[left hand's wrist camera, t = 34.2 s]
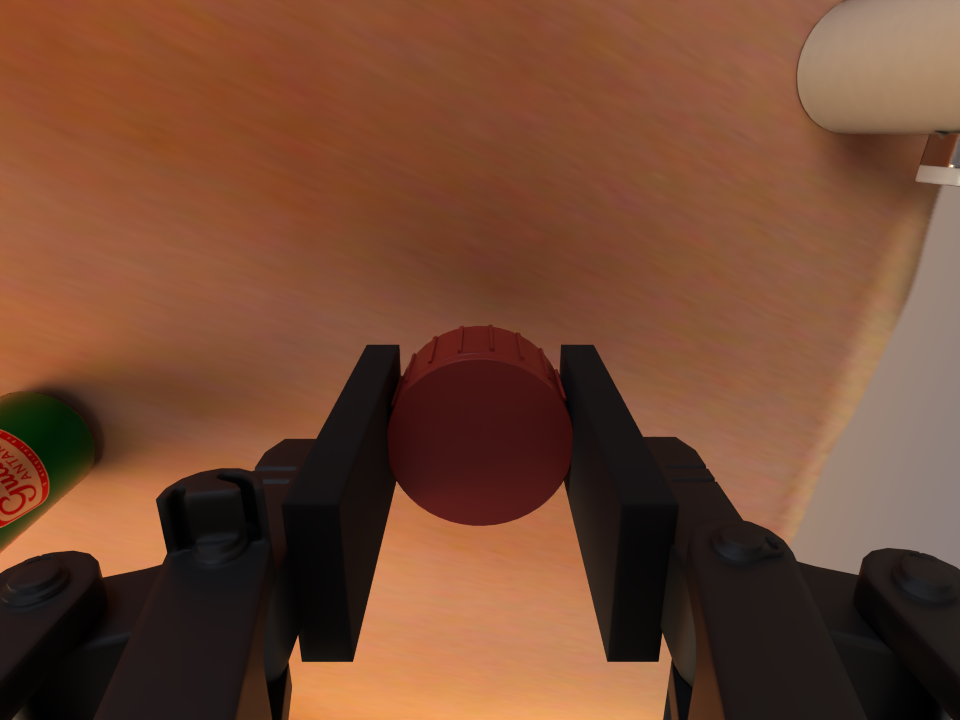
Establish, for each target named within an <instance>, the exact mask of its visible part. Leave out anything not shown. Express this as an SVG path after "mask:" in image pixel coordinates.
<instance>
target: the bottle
mask: <svg viewBox="0 0 960 720" xmlns="http://www.w3.org/2000/svg"><path fill="white" fill-rule="evenodd" d="M797 87H798V92H799V97H800V100H801V103H802V105H803V107H804V109H805V111H806V112H807V113H808V115H809V116H810V117H811V118H812V119H813V120H814V121H815V123H817V124H818V125H820V126H821V127H823V128H825V129H826V130H828V131H831V132H835V133H839V134H864V135H930V133H932V132H940V133H960V0H844V1H843V2H841V3H839V4H838V5H836V6H835V7H834V8H832V9H831V10H830V11H829V12H828V13H827V14H826V15H824V16H823V18H822V19H821V20H820V21H819V22H818V23H817V24H816V26H815V27H814V29H813V30H812V32H811V33H810V35H809V37H808V39H807V40H806V42H805V45H804V47H803V50H802V52H801V56H800V59H799V64H798V70H797Z"/></svg>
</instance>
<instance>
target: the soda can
mask: <svg viewBox="0 0 960 720" xmlns="http://www.w3.org/2000/svg"><path fill="white" fill-rule="evenodd" d="M94 460H95V444H94V440H93V436H92V433H91V431H90V429H89V427H88V425H87V424H86V422H85V420H84V419H83V418H82V417H81V416H80V414H78V413H77V412H76V411H75V410H74V409H73V408H71V407H70V406H69V405H67V404H66V403H64V402H62V401H60V400H58V399H56V398H53V397H51V396H48V395H44V394H40V393H36V392H14V393H9V394H6V395H3V396H1V397H0V553H1V552H2V551H3V550H4V549H6V548H7V547H8V546H9V545H10V544H11V543H12V542H13V541H15V540H16V539H17V538H18V537H19V536H20V535H21V534H22V533H23V532H25V531H26V530H27V529H28V528H29V527H30V526H31V525H32V524H34V523H35V522H36V521H37V520H38V519H39V518H40V517H41V516H42V515H44V514H45V513H46V512H47V511H48V510H49V509H50V508H51V507H53V506H54V505H55V504H56V503H57V502H58V501H59V500H60V499H61V498H63V497H64V496H65V495H66V494H67V493H68V492H69V491H70V490H72V489H73V488H74V487H75V486H76V485H77V484H78V483H79V482H80V481H82V480H83V479H84V478H85V477H86V476H87V474H88V473H89V472H90V470H91V468H92V466H93V463H94Z"/></svg>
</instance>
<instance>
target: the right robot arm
mask: <svg viewBox="0 0 960 720" xmlns="http://www.w3.org/2000/svg"><path fill="white" fill-rule="evenodd" d="M927 165H928V166H927ZM915 181H916V182H924V183H933V184H941V185H950V186H959V187H960V133H940V132H932V133H930V135H929V138H928V141H927V144H926V147H925V150H924V153H923V156H922V159H921V162H920V167H919V170H918V173H917V176H916V179H915Z"/></svg>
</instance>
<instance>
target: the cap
mask: <svg viewBox="0 0 960 720" xmlns="http://www.w3.org/2000/svg"><path fill="white" fill-rule="evenodd" d="M566 400H567V397H566V394H565V391H564V388H563V385H562V382H561V379H560V376H559V373H558V370H557V369H555V370H554V368H553V366H552V365H551V363H550V361H549V360H548V359H547V357H546V356H545V355H544V352H543V349H542V348H539V349H538V348H537V347H536V346H535V345H534V344H532V343H531V342H530V341H528V340H527V339H525V338H523V337H521V336H520V333H518V332H517V333H516V334H515V333H513V332H510V331H507V330H504V329H500V328H495V327H493V326H492V325H489V327H488V326H473V327H465V328H464V327H463V326H460V329H456V330H453V331H450V332H447V333H445V334H443V335H441V336H439V337H437V336H435V337H433V340H432V341H431V342H429V343H428V344H426V345H425V346H424V347H423V348H422V349H421V350H420V351H419V352H418V353H417V354H415V353H414V354H413V355H412V358H411V362H410V363H409V365H408V367H407V368H406V370H405V373H404V375H403V376H400V378H399V381H398V384H397V387H396V390H395V393H394V396H393V399H392V402H391V405H390V408H393V409H392V412H391V415H390V418H389V422H388V426H387V433H388V451H389V464H390V467H391V470H392V473H393V475H394V476H395V478H396V480H397V482H398V483H399V485H400V486H401V488H402V489H403V491H404V492H405V493H406V494H407V495H408V496H409V497H410V498H411V499H412V500H413V501H414V502H415V503H416V504H418V505H419V506H420V507H422V508H423V509H425V510H426V511H428V512H429V513H431V514H433V515H435V516H437V517H439V518H442V519H445V520H448V521H451V522H455V523H459V524H465V525H472V526H486V525H496V524H501V523H506V522H509V521H512V520H516V519H518V518H521V517H523V516H525V515H527V514H529V513H531V512H532V511H534V510H536V509H537V508H539V507H540V506H541V505H543V504H544V503H545V502H546V501H547V500H548V499H549V498H550V497H551V496H552V495H553V494H554V493H555V492H556V491H557V489H558V488H559V487H560V485H561V484H562V482H563V481H564V479H565V477H566V475H567V473H568V470H569V468H570V465H571V457H572V441H573V425H572V421H571V417H570V414H569V411H568V408H567V405H566V402H565V401H566Z"/></svg>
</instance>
